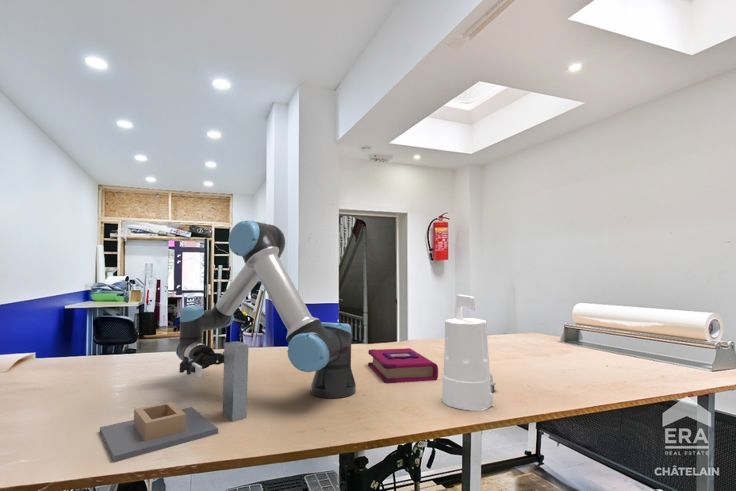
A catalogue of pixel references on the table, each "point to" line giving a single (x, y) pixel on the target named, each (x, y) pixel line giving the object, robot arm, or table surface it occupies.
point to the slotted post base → (137, 446)
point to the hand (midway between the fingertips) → (224, 367)
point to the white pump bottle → (466, 360)
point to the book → (402, 366)
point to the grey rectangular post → (235, 380)
